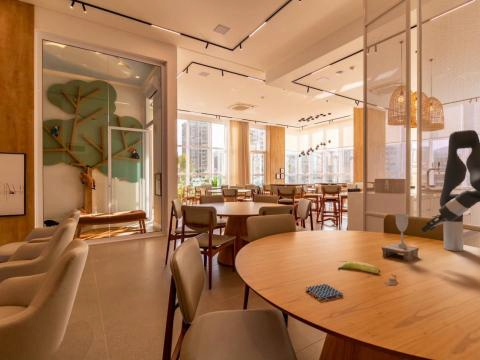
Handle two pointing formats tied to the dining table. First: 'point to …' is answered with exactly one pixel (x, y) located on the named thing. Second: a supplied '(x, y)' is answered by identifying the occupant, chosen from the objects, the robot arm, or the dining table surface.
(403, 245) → the chalice
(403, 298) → the dining table surface
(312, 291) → the blue patterned piece
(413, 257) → the square lamp base
